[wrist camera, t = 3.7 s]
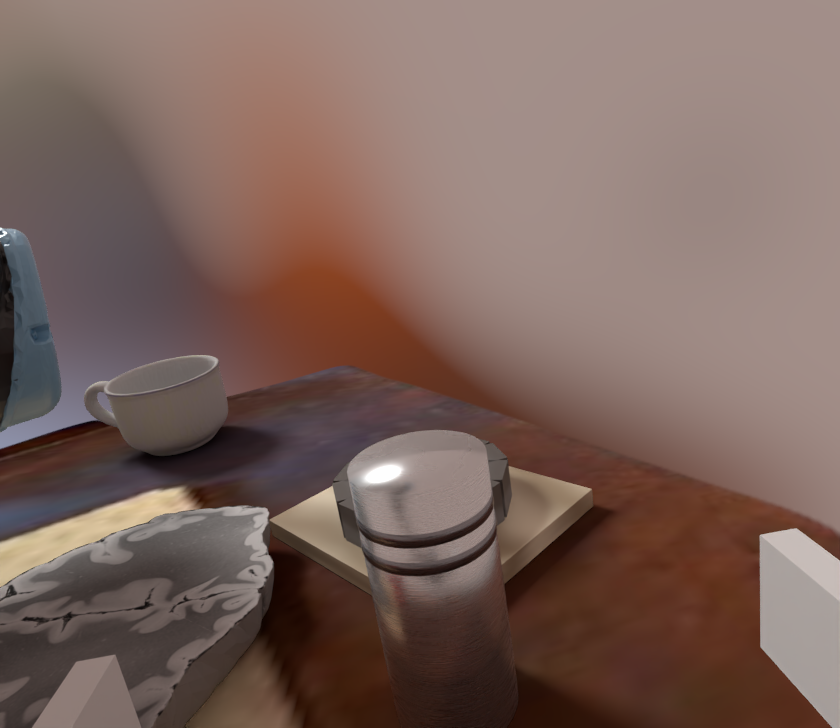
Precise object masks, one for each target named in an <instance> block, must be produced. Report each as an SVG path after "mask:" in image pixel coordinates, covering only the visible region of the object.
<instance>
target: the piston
mask: <svg viewBox="0 0 840 728" xmlns="http://www.w3.org/2000/svg"><path fill="white" fill-rule="evenodd" d="M347 475H348V480H349V485H350V490H351V494H352V499H353V504H354V513H355V518H356V523H357V527H358V529H359V537H360V542H361V547H362V552H363V554H364V558H365V563H366V567H367V572H368V577H369V582H370V587H371V592H372V597H373V602H374V606H375V611H376V616H377V621H378V626H379V631H380V636H381V640H382V645H383V650H384V655H385V660H386V665H387V670H388V675H389V679H390V684H391V689H392V694H393V699H394V704H395V709H396V713H397V717H398V720H399V723H400V724H401V726H402V728H507V726H508V725H509V724H510V722H511V720H512V719H513V717H514V715H515V712H516V709H517V705H518V696H519V694H518V686H517V678H516V670H515V663H514V655H513V648H512V640H511V632H510V625H509V617H508V610H507V602H506V595H505V587H504V579H503V572H502V564H501V557H500V549H499V541H498V534H497V520H496V513H495V510H494V497H493V490H492V485H491V481H490V473H489V466H488V458H487V450H486V447H485V445H484V444H483V442H481V441H480V440H479V439H477V438H476V437H474V436H471V435H469V434H466V433H462V432H457V431H448V430H429V431H418V432H412V433H407V434H402V435H398V436H395V437H391V438H388V439H385V440H383V441H380V442H378V443H376V444H374V445H372V446H370V447H368V448H366V449H365V450H363V451H362V452H360V453H359V454H358V455H357V456H356V457H355V458H354V459H353V460H352V461H351V462H350V464H349V466H348V470H347Z"/></svg>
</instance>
